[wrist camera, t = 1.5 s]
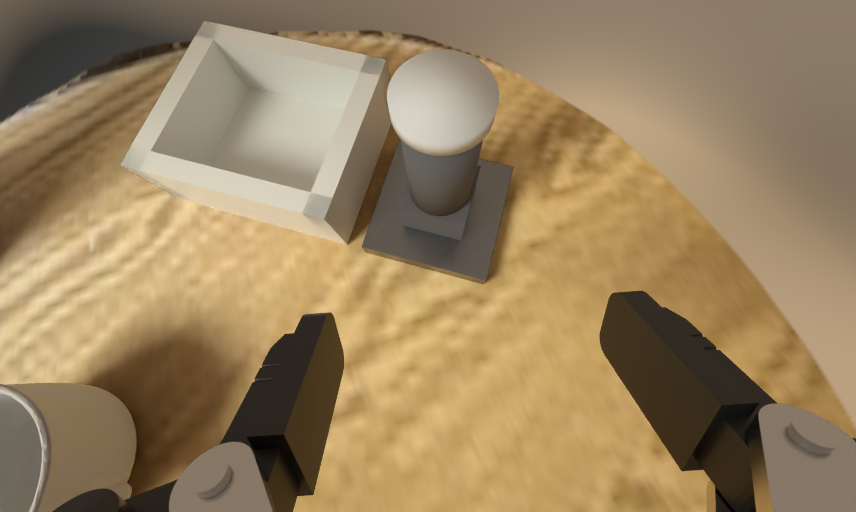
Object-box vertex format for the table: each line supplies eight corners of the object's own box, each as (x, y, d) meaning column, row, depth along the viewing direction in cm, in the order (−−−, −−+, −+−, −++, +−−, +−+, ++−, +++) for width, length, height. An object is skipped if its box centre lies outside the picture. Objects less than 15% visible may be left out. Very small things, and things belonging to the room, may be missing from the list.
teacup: (-16, 480, 23) (-241, 548, 16) (93, 345, 26) (-55, 346, 18) (123, 606, 21) (-57, 757, 13) (229, 446, 23) (127, 497, 16)
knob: (401, 226, 26) (372, 128, 14) (418, 171, 27) (405, 40, 15) (462, 241, 25) (484, 154, 14) (477, 186, 27) (509, 61, 15)
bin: (181, 199, 29) (119, 164, 23) (244, 77, 32) (204, 20, 26) (347, 244, 27) (324, 219, 22) (395, 111, 30) (386, 59, 25)
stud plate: (365, 252, 27) (352, 235, 23) (400, 149, 29) (394, 117, 25) (483, 284, 26) (492, 272, 22) (509, 175, 28) (522, 146, 24)
